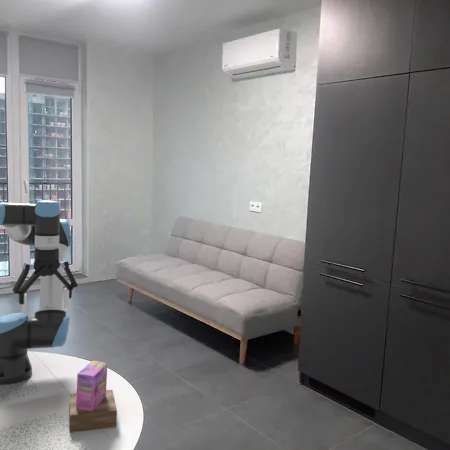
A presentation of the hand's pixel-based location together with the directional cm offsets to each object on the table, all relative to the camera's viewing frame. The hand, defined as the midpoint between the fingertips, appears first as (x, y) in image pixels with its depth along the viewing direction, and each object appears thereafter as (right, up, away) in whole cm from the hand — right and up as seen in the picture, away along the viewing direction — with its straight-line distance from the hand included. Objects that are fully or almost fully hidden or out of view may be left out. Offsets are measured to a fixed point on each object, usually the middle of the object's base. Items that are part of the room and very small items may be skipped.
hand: (45, 310), depth 152 cm
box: (+17, -29, -4) cm, 34 cm away
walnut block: (+16, -35, -3) cm, 39 cm away
